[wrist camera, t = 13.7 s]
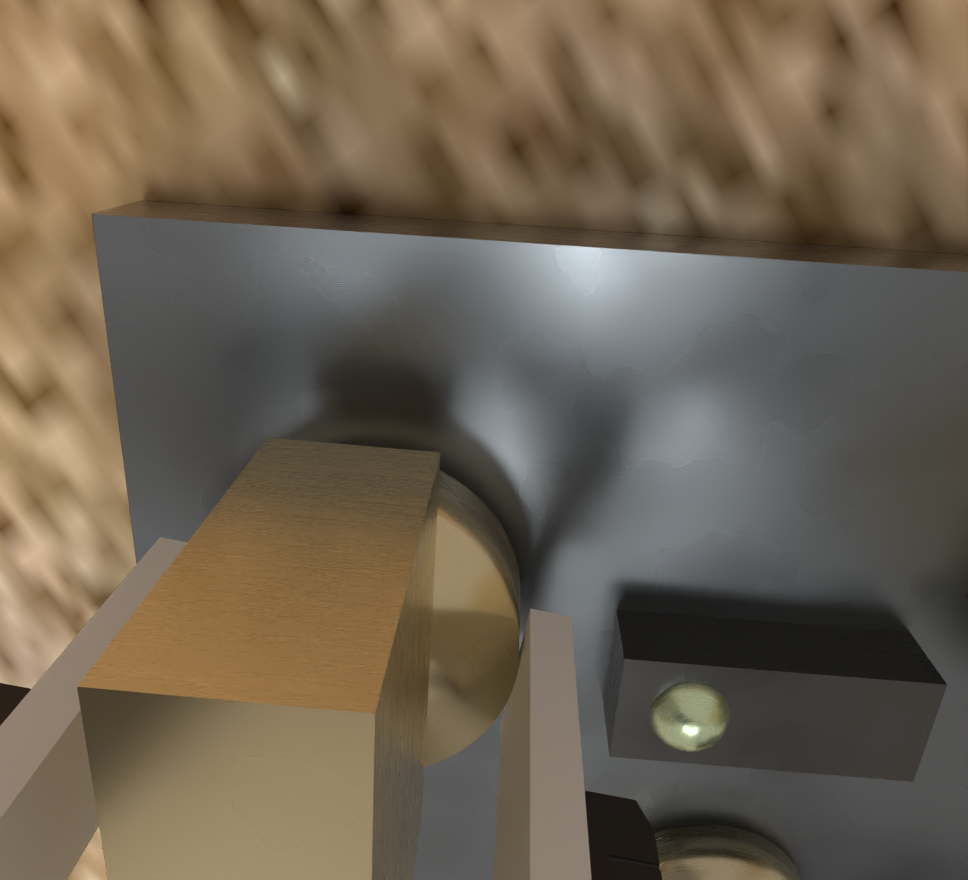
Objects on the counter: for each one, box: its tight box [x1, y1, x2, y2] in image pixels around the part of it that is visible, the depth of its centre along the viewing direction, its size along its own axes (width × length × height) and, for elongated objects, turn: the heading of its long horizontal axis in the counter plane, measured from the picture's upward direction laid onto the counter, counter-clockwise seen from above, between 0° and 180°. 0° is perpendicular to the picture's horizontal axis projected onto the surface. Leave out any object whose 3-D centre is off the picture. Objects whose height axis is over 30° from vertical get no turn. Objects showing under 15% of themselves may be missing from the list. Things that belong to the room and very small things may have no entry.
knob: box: [77, 438, 520, 880], centre depth 13 cm, size 8×6×9 cm
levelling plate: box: [92, 200, 968, 880], centre depth 17 cm, size 26×18×4 cm
